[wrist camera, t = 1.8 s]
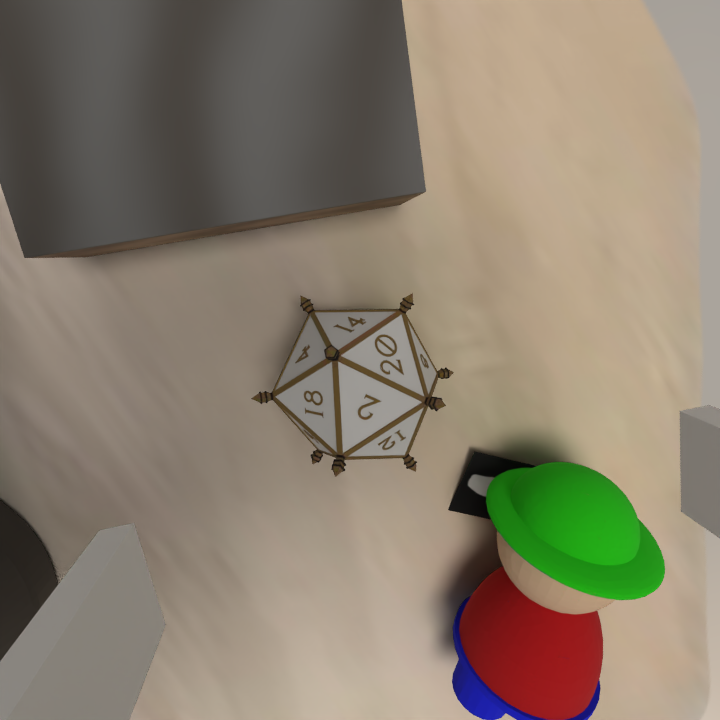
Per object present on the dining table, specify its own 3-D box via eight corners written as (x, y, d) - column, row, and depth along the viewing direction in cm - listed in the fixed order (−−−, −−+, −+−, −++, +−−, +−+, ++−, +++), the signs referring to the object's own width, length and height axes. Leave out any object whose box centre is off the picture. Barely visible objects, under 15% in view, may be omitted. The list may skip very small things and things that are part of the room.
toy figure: (527, 610, 34) (607, 433, 29) (614, 762, 26) (750, 550, 21) (409, 613, 32) (472, 420, 27) (462, 779, 24) (570, 546, 18)
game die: (317, 335, 30) (244, 249, 20) (457, 335, 28) (446, 239, 18) (299, 483, 27) (204, 461, 18) (452, 496, 25) (436, 478, 16)
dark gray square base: (86, 257, 24) (24, 257, 18) (-28, -129, 20) (-146, -265, 15) (400, 204, 25) (425, 191, 20) (347, -169, 21) (362, -308, 16)
